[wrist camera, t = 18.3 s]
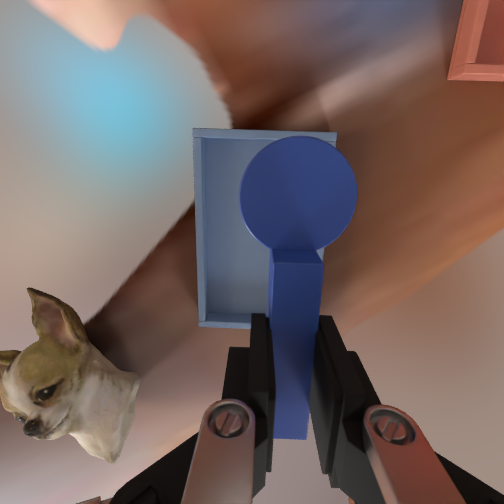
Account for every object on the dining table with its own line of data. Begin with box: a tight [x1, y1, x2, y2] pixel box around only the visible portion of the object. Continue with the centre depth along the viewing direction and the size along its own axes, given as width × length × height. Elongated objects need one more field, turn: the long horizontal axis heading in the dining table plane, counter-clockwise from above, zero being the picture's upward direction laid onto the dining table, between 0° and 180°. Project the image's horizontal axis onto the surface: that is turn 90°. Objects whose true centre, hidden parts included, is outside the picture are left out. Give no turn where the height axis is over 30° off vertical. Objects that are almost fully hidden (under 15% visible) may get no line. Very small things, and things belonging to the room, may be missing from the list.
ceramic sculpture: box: [0, 288, 140, 464], centre depth 26 cm, size 11×9×15 cm
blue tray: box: [192, 128, 337, 329], centre depth 25 cm, size 16×10×2 cm, turn 178°
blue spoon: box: [238, 135, 357, 440], centre depth 11 cm, size 11×4×3 cm, turn 178°
